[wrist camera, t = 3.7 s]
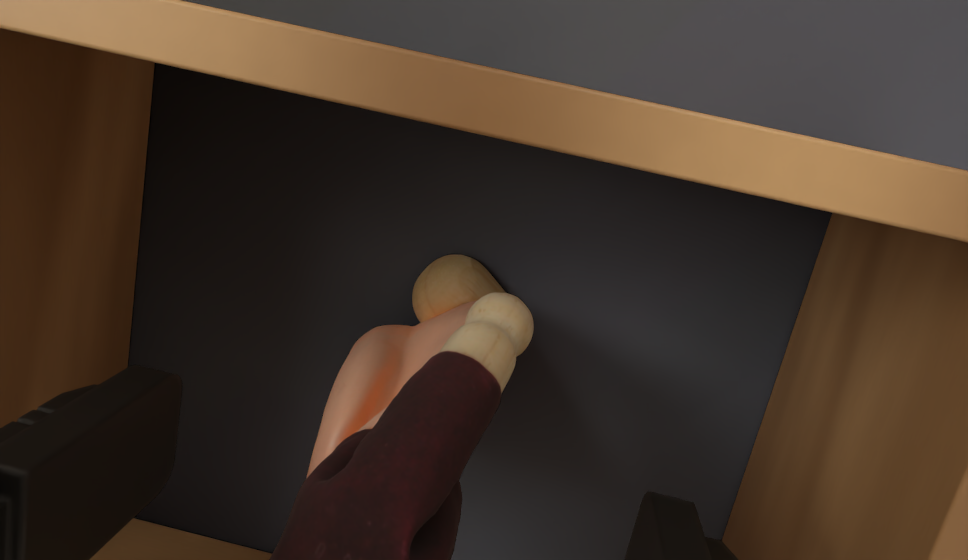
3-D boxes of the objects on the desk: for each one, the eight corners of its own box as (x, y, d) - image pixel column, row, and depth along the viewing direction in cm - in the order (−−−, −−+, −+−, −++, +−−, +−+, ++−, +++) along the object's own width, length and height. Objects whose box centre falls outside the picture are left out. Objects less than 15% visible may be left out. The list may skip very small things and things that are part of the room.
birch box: (84, 530, 19) (-173, 761, 13) (126, -5, 16) (-199, -83, 9) (703, 691, 18) (783, 1031, 12) (890, 161, 15) (1156, 211, 8)
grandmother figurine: (402, 189, 16) (-95, 460, 4) (567, 242, 16) (571, 691, 4) (320, 482, 18) (-177, 1260, 6) (467, 531, 18) (260, 1428, 6)
